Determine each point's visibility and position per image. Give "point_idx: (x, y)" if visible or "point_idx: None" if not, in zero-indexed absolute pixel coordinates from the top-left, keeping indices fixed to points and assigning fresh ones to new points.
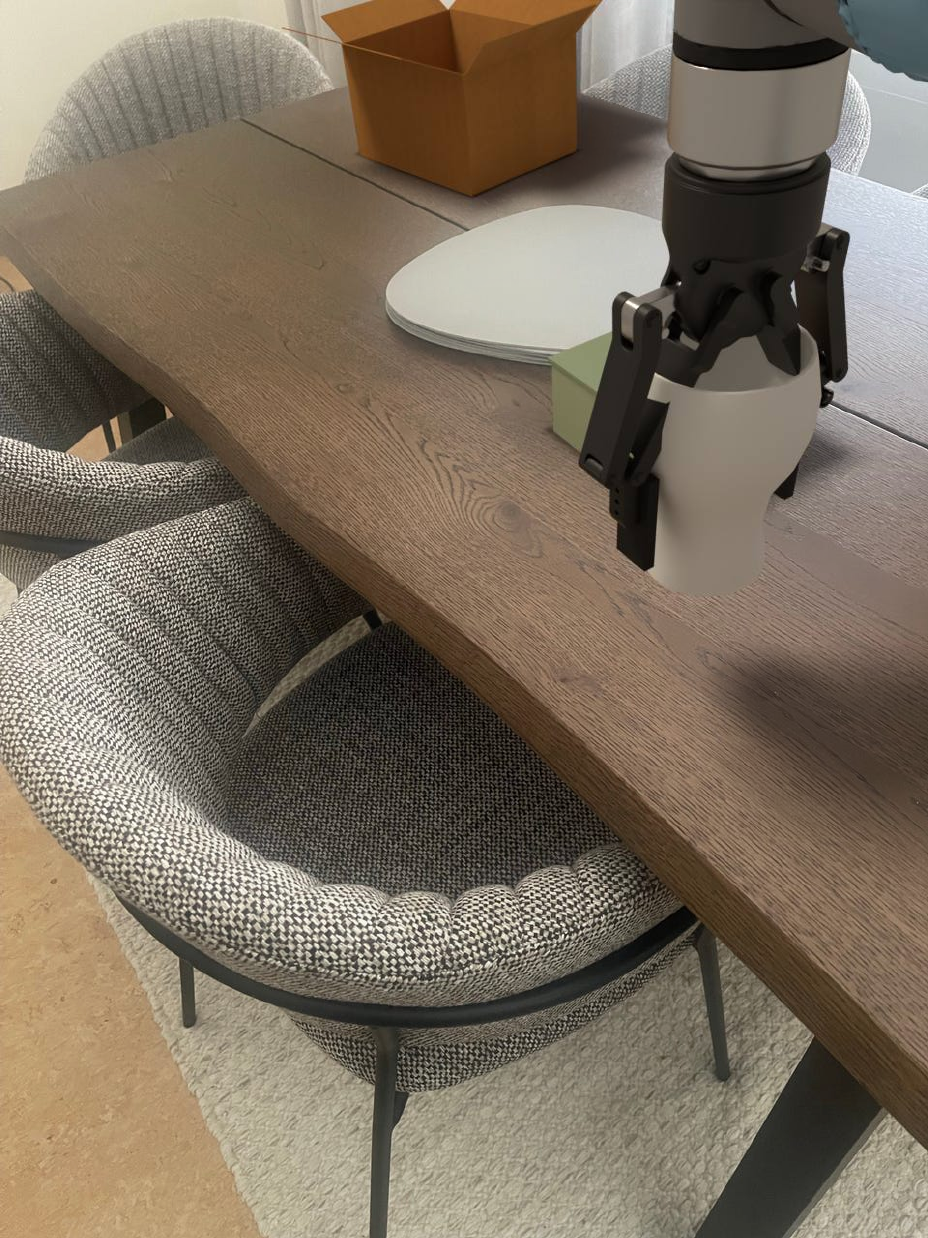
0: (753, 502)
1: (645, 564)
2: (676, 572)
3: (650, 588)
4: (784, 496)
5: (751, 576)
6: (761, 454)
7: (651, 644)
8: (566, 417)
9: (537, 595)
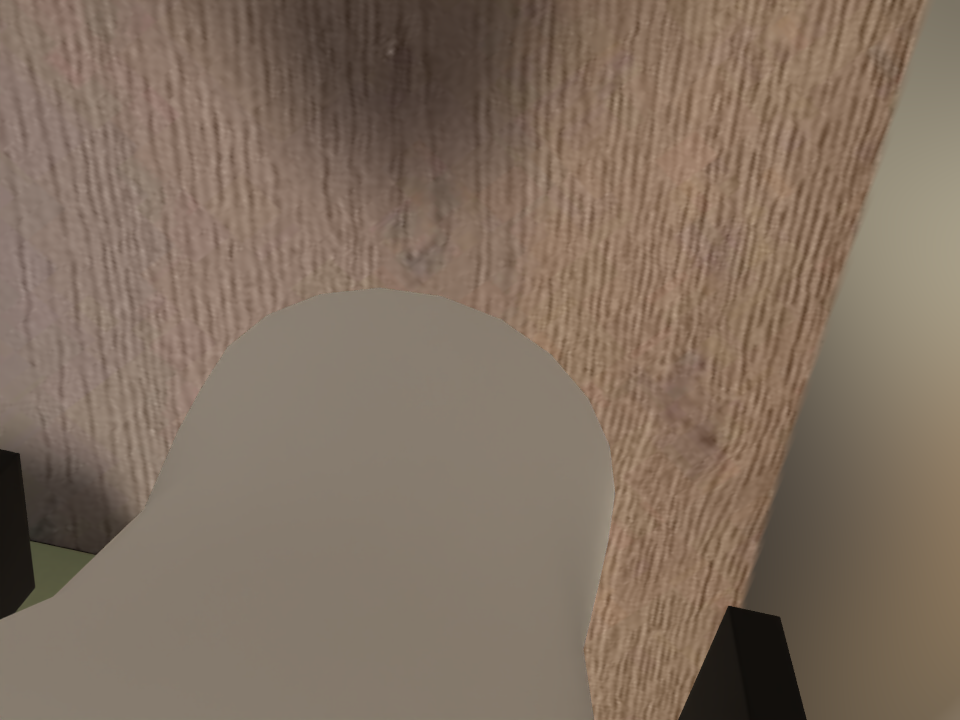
0: (361, 632)
1: (780, 645)
2: (604, 514)
3: None
4: (9, 466)
5: (384, 307)
6: None
7: None
8: None
9: None
